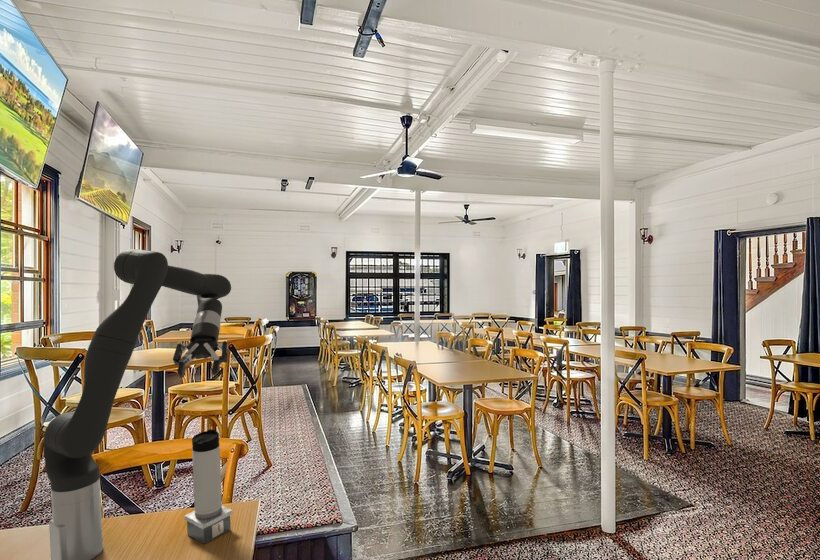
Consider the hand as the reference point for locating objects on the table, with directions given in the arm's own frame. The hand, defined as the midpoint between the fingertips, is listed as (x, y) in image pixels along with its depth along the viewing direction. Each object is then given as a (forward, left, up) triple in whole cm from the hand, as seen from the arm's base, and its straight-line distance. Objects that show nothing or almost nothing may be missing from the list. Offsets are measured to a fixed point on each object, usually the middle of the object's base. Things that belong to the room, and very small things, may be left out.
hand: (197, 375), depth 129 cm
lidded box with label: (-7, -15, -37) cm, 40 cm away
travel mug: (-7, -14, -32) cm, 36 cm away
